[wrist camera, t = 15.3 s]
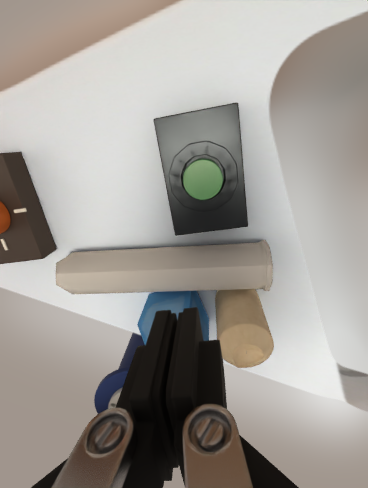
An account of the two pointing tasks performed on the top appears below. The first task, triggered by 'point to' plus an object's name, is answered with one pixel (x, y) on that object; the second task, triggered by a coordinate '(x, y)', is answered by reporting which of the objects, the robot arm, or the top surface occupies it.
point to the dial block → (22, 214)
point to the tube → (167, 269)
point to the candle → (242, 328)
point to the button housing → (196, 147)
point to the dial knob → (4, 218)
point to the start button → (203, 179)
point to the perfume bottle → (172, 309)
